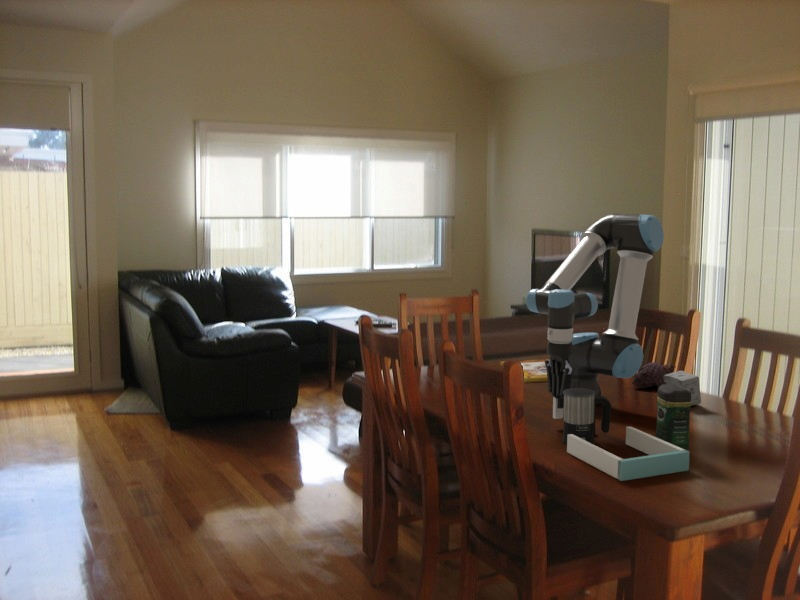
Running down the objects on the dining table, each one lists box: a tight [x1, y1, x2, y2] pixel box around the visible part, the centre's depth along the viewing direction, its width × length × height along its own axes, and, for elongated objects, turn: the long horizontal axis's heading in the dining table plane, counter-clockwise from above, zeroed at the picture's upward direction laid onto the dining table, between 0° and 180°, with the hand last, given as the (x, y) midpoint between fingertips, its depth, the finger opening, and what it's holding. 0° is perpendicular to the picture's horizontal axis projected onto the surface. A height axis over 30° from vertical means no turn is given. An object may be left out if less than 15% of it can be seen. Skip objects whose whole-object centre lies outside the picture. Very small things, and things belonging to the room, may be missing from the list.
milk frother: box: [561, 388, 612, 445], centre depth 246 cm, size 14×16×15 cm
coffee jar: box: [655, 384, 691, 452], centre depth 233 cm, size 10×8×19 cm
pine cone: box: [631, 361, 677, 389], centre depth 306 cm, size 18×10×10 cm
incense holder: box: [664, 370, 702, 406], centre depth 283 cm, size 10×8×10 cm
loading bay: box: [566, 426, 690, 482], centre depth 226 cm, size 24×21×5 cm
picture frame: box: [499, 358, 550, 383], centre depth 332 cm, size 27×2×30 cm
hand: (557, 417), depth 256 cm, fingers closed
